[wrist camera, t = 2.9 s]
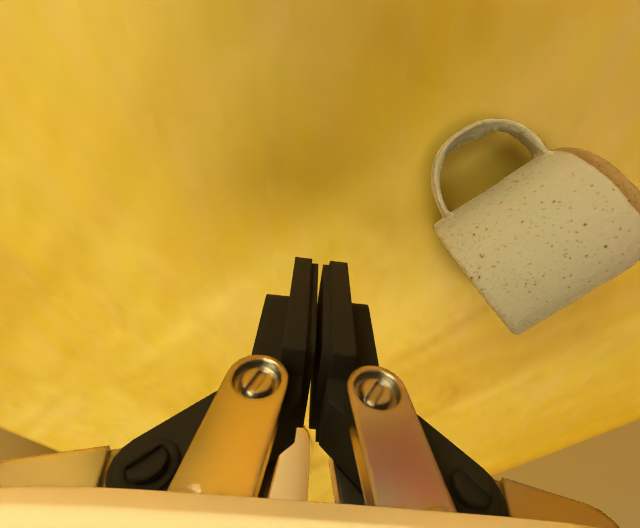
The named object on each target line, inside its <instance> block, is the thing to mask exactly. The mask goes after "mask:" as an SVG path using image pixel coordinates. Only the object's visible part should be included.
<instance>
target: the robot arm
mask: <svg viewBox="0 0 640 528" xmlns="http://www.w3.org/2000/svg"><path fill="white" fill-rule="evenodd" d="M317 287H318V264H313V263H312V259H308V258H300V257H295V264H294V271H293V278H292V284H291V291H290V297H289V296H280V295H271V294H267V295H266V298H265V302H264V306H263V310H262V315H261V319H260V323H259V327H258V331H257V335H256V339H255V343H254V347H253V351H252V355H251V356H247V357H244V358H242V359H240V360H238V361H237V362H236V363H234V364H233V365H232V366H231V368H230V369H229V370H228V372H227V374H226V376H225V378H224V380H223V382H222V383H221V385H220V387H219V389H218V391H216V392H214V393H212V394H211V395H209V396H207V397H206V398H204V399H202V400H200V401H199V402H197V403H195V404H194V405H192V406H190V407H189V408H187V409H185V410H183V411H182V412H180V413H178V414H177V415H175V416H173V417H171V418H170V419H168V420H166V421H165V422H163V423H161V424H159V425H158V426H156V427H154V428H153V429H151V430H149V431H148V432H146V433H144V434H142V435H141V436H139V437H137V438H136V439H134V440H132V441H131V442H130V443H128V444H127V445H126V446H124V447H123V448H122V449H114V450H110V447H109V446H102V447H95V448H88V449H80V450H73V451H66V452H59V453H51V454H44V455H37V456H30V457H22V458H15V459H8V460H5V461H1V462H0V528H619V526H618V525H617V524H616V523H615V522H614V521H613V520H612V519H611V518H609V517H608V516H607V515H605V514H604V513H603V512H602V511H600V510H599V509H596V508H594V507H592V506H590V505H588V504H585V503H582V502H579V501H576V500H573V499H569V498H566V497H563V496H560V495H557V494H554V493H550V492H547V491H544V490H541V489H538V488H535V487H531V486H528V485H525V484H522V483H519V482H516V481H513V480H509V479H506V478H502V479H501V480H500V481H497V480H494V479H493V478H492V477H491V476H490V475H489V474H488V473H487V472H486V471H485V470H484V469H483V468H482V467H481V466H480V465H478V464H477V463H476V462H475V461H474V460H472V459H471V458H470V457H469V456H467V455H466V454H465V453H464V452H463V451H461V450H460V449H459V448H458V447H456V446H455V445H454V444H453V443H452V442H450V441H449V440H448V439H447V438H445V437H444V436H443V435H442V434H441V433H439V432H438V431H437V430H436V429H434V428H433V427H432V426H431V425H429V424H428V423H427V422H426V421H425V420H423V419H422V418H421V417H420V416H418V415H417V414H416V412H415V409H414V407H413V404H412V402H411V399H410V397H409V395H408V392H407V390H406V388H405V386H404V384H403V382H402V381H401V380H400V379H399V378H398V377H397V376H396V375H395V374H394V373H392V372H391V371H389V370H387V369H385V368H382V367H379V364H378V359H377V353H376V347H375V341H374V335H373V330H372V324H371V318H370V312H369V307H368V305H365V304H355V303H352V302H351V293H350V284H349V274H348V265H347V263H344V262H335V261H330V264H329V265H323V269H322V276H321V282H320V289H319V296H318V302H317ZM310 381H311V388H310ZM309 388H310V411H309V429H316V442H319V445H320V446H321V447H322V449H323V450H324V451H325V452H326V453H327V454H328V455H329V468H330V475H331V481H332V488H333V494H334V501H335V503H324V502H310V501H297V500H283V499H270V498H269V497H270V493H271V490H272V486H273V482H274V478H275V474H276V471H277V467H278V463H279V457H280V454H282V453H283V452H284V451H285V450H286V449H288V448H289V447H290V446H291V445H292V444H294V443H295V436H296V430H297V428H303V425H304V419H305V412H306V406H307V400H308V394H309Z"/></svg>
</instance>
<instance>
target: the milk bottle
mask: <svg viewBox="0 0 640 528" xmlns="http://www.w3.org/2000/svg"><path fill="white" fill-rule="evenodd" d="M309 463H310V439H309V436H308V433H307V432H306V430H305V429H304V428H297V430H296V436H295V443H294V444H292V445H291V446H290V447H289V448H288V449H286V450H285V451H284V452H283V453H282V454H280V457H279V463H278V467H277V471H276V474H275V478H274V482H273V486H272V490H271V493H270V497H269V498H270V499H283V500H297V501H308V483H309Z"/></svg>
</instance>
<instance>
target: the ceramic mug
mask: <svg viewBox="0 0 640 528" xmlns="http://www.w3.org/2000/svg"><path fill="white" fill-rule="evenodd" d="M495 130H498V131H502V132H506V133H509V134H511V135H512V136H513V137H514V138H517V139H518V140H519V141H520V142H521V143H522V144H524V145H525V146H526V147H527V148H528V150H529V151H530V152H531V153H532V155H533V159H532V160H531V161H529V162H528V163H526V164H524V165H523V166H521V167H519V168H518V169H517V170H515V171H514V172H513V173H511V174H510V175H508V176H506V177H505V178H503V179H502V180H501V181H500V182H498V183H497V184H495V185H494V186H492V187H490V188H489V189H487V190H485V191H484V192H482V193H481V194H479V195H477V196H476V197H474V198H472V199H471V200H469V201H468V202H466V203H465V204H462V205H461V206H459V207H458V208H457V209H455V210H453V211H452V212H450V211H448V210H447V207H446V205H445V203H444V200H443V196H442V192H441V187H440V174H441V167H442V166H443V161H444V157H445V156H446V155H448V154H449V153H451V152H452V151H454V150H455V149H457V148H458V147H460V146H461V145H463V144H465V143H466V142H469V141H471V140H473V139H475V138H482V137H484V136H485V135H486V134H487V133H488V132H491V131H495ZM431 189H432V193H433V196H434V199H435V202H436V205H437V207H438V210H439V211H440V213H441V217H442V218H441V219H440V220H439V221H438V222H436V223H435V224H434V225H433V229H434V231H435V233H436V235H437V236H438V238H439V239H440V240H441V242H442V243H443V245H444V246H445V248H446V249H447V250H448V251H449V253H450V254H451V255H452V257H453V258H454V260H455V261H456V262H457V264H458V265H459V266H460V267H461V269H462V270H463V271H464V273H465V274H466V275H467V277H468V278H469V279H470V281H471V282H472V283H473V284H474V286H475V287H476V288H477V290H478V291H479V292H480V294H481V295H482V296H483V297H484V299H485V300H486V301H487V303H488V304H489V305H490V306H491V308H492V309H493V310H494V311H495V312H496V314H497V315H498V317H499V318H500V319H501V320H502V321H503V323H504V324H505V325H506V326H507V327H508V329H509V330H510V332H511V333H513V334H521V333H523V332H524V331H526V330H528V329H529V328H531V327H532V326H534V325H536V324H537V323H539V322H541V321H542V320H544V319H546V318H547V317H549V316H551V315H552V314H554V313H556V312H557V311H559V310H561V309H562V308H564V307H566V306H567V305H569V304H571V303H572V302H574V301H576V300H577V299H579V298H581V297H582V296H584V295H585V294H587V293H589V292H590V291H592V290H593V289H595V288H597V287H598V286H600V285H602V284H604V283H606V282H607V281H609V280H611V279H613V278H615V277H616V276H618V275H619V274H621V273H623V272H624V271H626V270H628V269H629V268H630V267H632V266H633V265H634V264H635V263H637V262H638V261H639V260H640V192H639V190H638V189H637V188H636V186H635V185H634V184H633V183H632V182H630V181H629V180H628V179H627V178H626V177H625V176H624V175H623V174H622V173H621V172H620V171H619V170H618V169H617V168H615V167H614V166H613V165H612V164H610V163H609V162H607V161H606V160H604V159H603V158H601V157H600V156H598V155H595V154H593V153H591V152H589V151H586V150H582V149H576V148H559V149H556V150H553V151H551V150H548V149H547V148H546V146H545V144H544V143H543V142H542V140H541V139H540V137H539V136H538V135H536V134H535V133H534V132H533V131H532V130H531V129H530V128H528V127H526V126H524V125H522V124H520V123H519V122H516V121H514V120H509V119H501V118H491V119H483V120H479V121H477V122H474V123H472V124H470V125H468V126H466V127H464V128H462V129H460V130H459V131H458V132H456V133H455V134H453V135H452V136H451V137H450V138H449V139H447V140H446V141H445V142H444V143H443V144H442V146H441V147H440V149H439V151H438V152H437V154H436V157H435V159H434V161H433V164H432V169H431Z"/></svg>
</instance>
